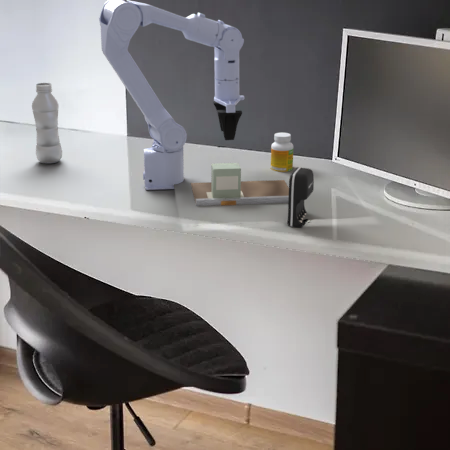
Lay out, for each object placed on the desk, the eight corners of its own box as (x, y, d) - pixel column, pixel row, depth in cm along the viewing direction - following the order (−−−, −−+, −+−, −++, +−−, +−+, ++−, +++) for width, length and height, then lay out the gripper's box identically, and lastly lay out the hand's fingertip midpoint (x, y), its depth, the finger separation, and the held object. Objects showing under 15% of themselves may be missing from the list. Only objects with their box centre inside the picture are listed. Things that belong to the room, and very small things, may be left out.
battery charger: (304, 229, 168) (307, 176, 164) (286, 227, 170) (288, 174, 165) (313, 218, 175) (315, 166, 170) (295, 215, 176) (298, 164, 171)
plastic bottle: (68, 161, 210) (63, 83, 203) (49, 168, 205) (43, 88, 198) (49, 157, 214) (43, 80, 206) (30, 163, 208) (24, 85, 201)
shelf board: (196, 211, 178) (196, 200, 177) (190, 187, 192) (190, 178, 191) (296, 207, 180) (297, 197, 179) (284, 184, 194) (284, 175, 193)
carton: (240, 199, 181) (241, 168, 179) (213, 200, 181) (213, 169, 178) (237, 192, 185) (238, 162, 183) (211, 193, 185) (211, 163, 182)
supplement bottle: (290, 177, 200) (292, 138, 196) (268, 175, 201) (270, 136, 197) (293, 170, 205) (295, 132, 201) (272, 168, 206) (273, 130, 202)
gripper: (248, 84, 184) (248, 143, 189) (240, 71, 198) (240, 126, 203) (217, 85, 183) (217, 144, 189) (210, 72, 197) (211, 127, 202)
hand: (227, 135), depth 196 cm, fingers open, 7 cm apart
